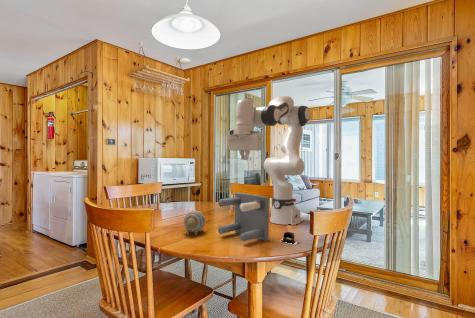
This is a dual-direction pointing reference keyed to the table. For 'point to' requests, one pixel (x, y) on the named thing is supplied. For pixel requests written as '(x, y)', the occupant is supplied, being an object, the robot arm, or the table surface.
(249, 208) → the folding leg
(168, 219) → the table surface
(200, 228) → the toy sheep
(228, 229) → the stool
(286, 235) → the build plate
